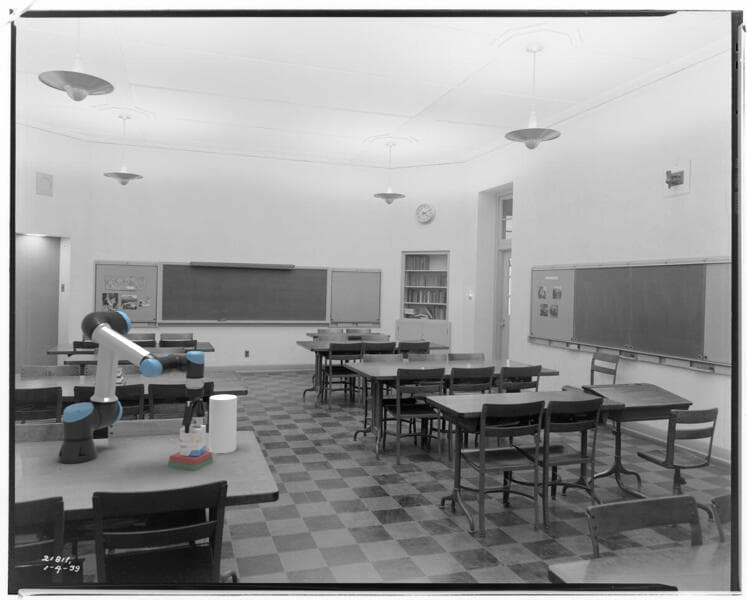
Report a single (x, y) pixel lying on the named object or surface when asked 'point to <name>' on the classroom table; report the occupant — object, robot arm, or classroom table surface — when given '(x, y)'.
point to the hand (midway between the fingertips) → (193, 436)
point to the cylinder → (222, 423)
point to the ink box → (193, 441)
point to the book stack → (190, 461)
